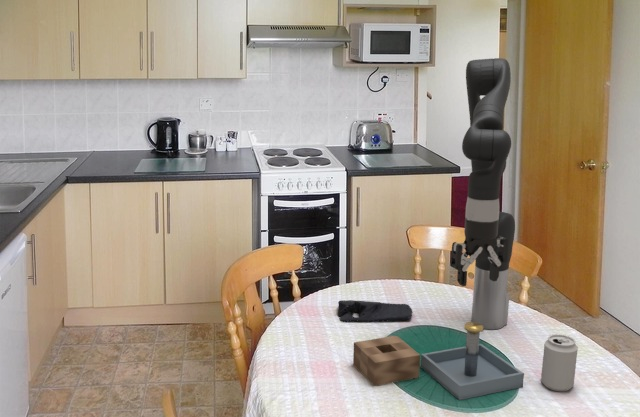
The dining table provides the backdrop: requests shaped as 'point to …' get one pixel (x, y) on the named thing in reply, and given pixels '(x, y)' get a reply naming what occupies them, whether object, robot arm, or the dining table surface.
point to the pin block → (386, 360)
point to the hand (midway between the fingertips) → (477, 282)
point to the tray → (489, 378)
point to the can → (559, 362)
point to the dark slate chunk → (372, 311)
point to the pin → (472, 347)
